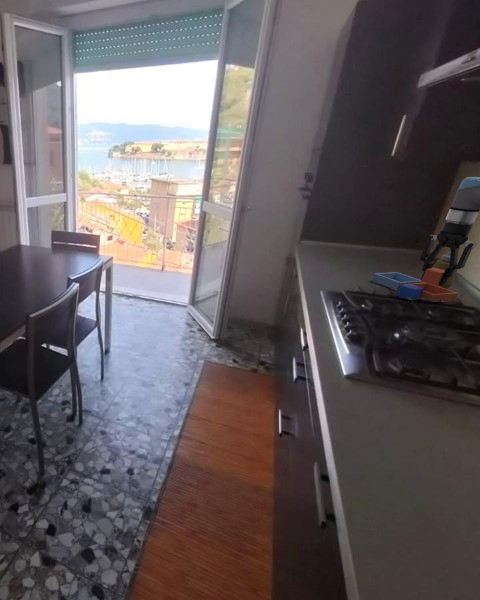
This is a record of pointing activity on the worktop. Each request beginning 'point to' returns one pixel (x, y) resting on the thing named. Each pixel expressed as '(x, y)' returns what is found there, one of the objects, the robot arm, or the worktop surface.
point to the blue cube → (410, 291)
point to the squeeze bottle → (444, 264)
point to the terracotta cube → (433, 276)
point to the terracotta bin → (436, 292)
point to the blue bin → (394, 280)
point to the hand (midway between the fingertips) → (432, 281)
